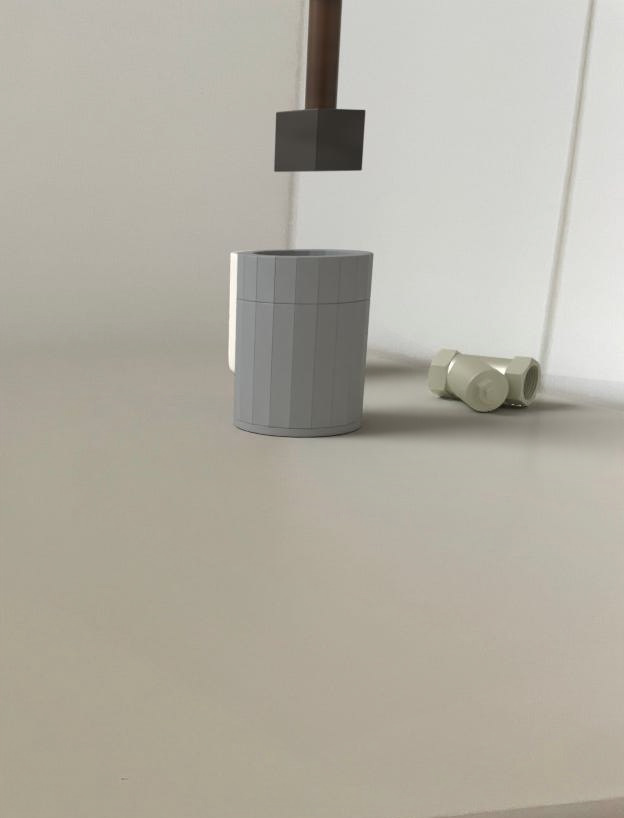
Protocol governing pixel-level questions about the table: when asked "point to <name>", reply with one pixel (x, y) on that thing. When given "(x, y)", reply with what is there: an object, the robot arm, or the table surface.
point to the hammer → (320, 106)
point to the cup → (301, 340)
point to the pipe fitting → (484, 379)
